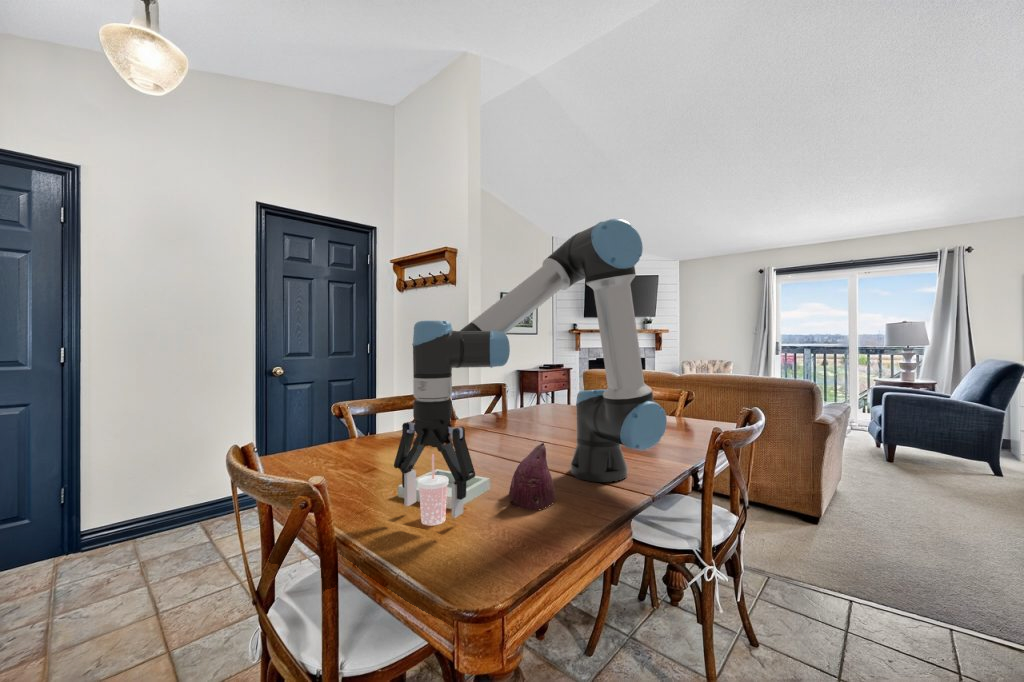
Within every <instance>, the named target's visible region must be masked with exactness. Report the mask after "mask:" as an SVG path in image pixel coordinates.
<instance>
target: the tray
mask: <svg viewBox="0 0 1024 682" xmlns="http://www.w3.org/2000/svg"><path fill="white" fill-rule="evenodd" d="M436 473H443V474H444V475H445V476H446V477H448V479H449V481H448V483H449V484H448V485H447V499H446V509H448V510H449V509H450V510H452V482H454V481H455V479H454V477H453V475H452V473H451V471H450V470H444V469H440V468H439V469H438V468H436V469H434V475H435V474H436ZM429 475H432V470H431V471H429V472H426V473H424V474H422V475H420V476H416V503H417V502H418V503H420V493H419V487H418V479H419V478H422V477H424V476H429ZM490 489H491V479H490V478H489V477H484V476H480V475H479V476H478V475H475V477H474V478H472V479H470V480H468V481H466V497H465V498H463V506H464V505H466V504H468V503H469V502H471V501H473V500H474V499H476V498H477V497H479V496H481V495H483V494H484V493H485V492H487V491H490ZM397 497H398V498H400V499H404V488H403V486H402V483H401V484H399V485H398V486H397Z"/></svg>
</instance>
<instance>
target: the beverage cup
mask: <svg viewBox="0 0 1024 682" xmlns="http://www.w3.org/2000/svg"><path fill="white" fill-rule="evenodd" d="M434 470H435V454H434V453H432V454H431V471H432V475H429V476H424V477H422V478H419V479H418V487H419V493H420V502H419V504H420V505H419V506H420V507H419V508H420V521H421V524H422V525H425V526H438V525H441V524H443V523H444V522H445V521H446V517H447V516H446V515H447V508H446V499H447V485H448V484H449V483H448V481H449V479H448V477H446V476H443V475H434Z"/></svg>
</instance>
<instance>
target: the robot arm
mask: <svg viewBox="0 0 1024 682" xmlns="http://www.w3.org/2000/svg"><path fill="white" fill-rule="evenodd" d="M643 250H644V249H643V242H642V237H641V235H640V234H639V232H638V230H637V229H636V228H635V227H634V226H632V224H630V222H629V221H626V220H624V219H620V218H612V219H611V218H610V219H607V220H604V221H599V222H598V223H596V224H595V225H593V226H591V227H589V228H587V229H584V230H582V231H580V232H577V233H575V234H573V235H571V237H569V238H568V239H567V240H565V242H564V243H563V244H561V245H559V247H558V248H556V250H554V251H553V252H552V253H551V254H550V255H548V257H546V258H544V259H543V261H542V266H541V267H540V268H539V269H536V271H535V272H533V273H532V274H531V275H530V276H528V277H527V278H526V279H524V280H523V281H522V282H520V283H519V284H518V285H516V286H515V287H514V288H513V289H511V290H510V291H509V292H507V293H506V294H505V295H503V296H502V297H501V298H500V299H499V300H497V301H496V302H495V303H494V304H492V305H491V306H490V307H488V308H487V309H486V310H484V311H483V312H482V313H481V314H479V315H478V316H477V317H475V318H474V319H473V320H472V321H470V322H469V323H468V324H466V325H465V326H464V327H462V329H460V330H453V328H452V323H451V322H450V321H448V320H420V321H417V322H416V323H414V326H413V339H412V363H413V364H412V365H413V366H412V369H413V377H412V378H413V379H412V382H413V383H412V385H413V389H412V390H413V393H412V394H413V398H414V399H415V400H414V401H413V402H412V403H413V404H412V405H413V406H412V407H413V408H412V409H413V410H412V411H413V415H412V417H413V419H414V420H415V421H414V420H411V421H407V422H403V423H402V426H401V427H402V434H401V439H400V441H399V445H398V449H397V453H396V456H395V459H394V463H393V467H394V469H399V470H400V472H401V480H402V481H401V482H402V483H401V484H402V486H403V488H404V498H403V499H404V506H403V507H409V506H411V505H413V504H416V503H417V501H416V478H417V470H416V467H415V466H416V463H417V462H418V460H419V458H420V456H421V454H422V453H423V452H424V449H425V447H429V446H430V447H432V448H436V449H437V451H438V452H439V453H441V455H442V458H443V459H444V461H445V463H446V465H447V467H448V469H449V471H451V473H452V475H453V477H454V479H455V481H454V482H452V509H451V518H454V519H456V518H458V517H459V516H461V515H462V514H463V513H464V505H463V498H465V497H466V481H468V480H470V479H472V478H474V477H475V476H476V471H475V468H474V464H473V461H472V457H471V454H470V452H469V451H470V450H469V448H468V444H467V442H466V428H465V427H464V426H460V427H454V426H453V425H452V424H451V419H452V416H453V400H452V399H451V398H450V397H452V396H453V382H452V381H453V379H452V375H453V374H452V373H453V372H452V371H453V369H459V368H490V369H492V368H495V367H503V366H505V365H506V364H507V363H508V360H509V357H510V354H511V353H510V352H511V351H510V348H511V347H510V346H511V345H510V341H509V338H508V336H507V333H509V332H510V331H511V330H512V329H514V328H515V327H516V326H517V325H519V323H521V322H522V321H524V320H525V319H526V318H527V317H528V316H530V315H531V314H532V313H533V312H535V310H537V309H538V308H539V307H541V306H542V305H543V304H545V303H546V302H547V301H548V300H549V299H551V297H553V296H554V295H556V294H557V293H558V292H559V291H561V290H562V291H566V290H568V289H569V288H570V287H572V286H573V285H575V284H576V283H578V282H580V281H582V280H585V284H586V286H589V287H590V288H591V289H592V290H593V295H594V301H595V303H594V304H595V307H596V308H595V309H596V315H597V322H598V328H599V336H600V343H601V349H602V357H603V363H604V371H605V376H606V377H605V378H606V383H607V384H606V385H607V387H606V389H591V390H590V389H589V390H588V389H587V390H580V391H578V393H577V394H576V403H575V406H576V447H575V450H574V453H573V456H572V460H571V462H570V474H571V475H572V476H573V477H575V478H577V479H580V480H583V481H587V482H594V483H595V482H596V483H612V481H615V482H619V481H618V480H620V481H623V480H624V478H625V479H626V478H627V477H628V465H627V463H626V460H625V459H626V458H625V456H624V453H623V450H622V447H621V446H624V447H626V448H628V449H632V450H638V451H646V450H647V451H648V450H650V449H652V448H654V447H655V446H657V445H658V444H659V442H660V441H661V438H662V437H663V436H664V435H665V432H666V429H667V424H668V422H667V420H668V419H667V414H666V411H665V408H663V407H662V406H661V405H660V404H659V403H658V402H656V401H655V400H654V394H653V390H652V388H651V387H650V386H649V385H647V384H646V383H645V380H644V372H643V365H642V358H641V351H640V342H639V335H638V330H637V322H636V315H635V309H634V308H635V307H634V301H633V294H632V287H631V284H632V281H634V279H635V277H636V276H637V274H636V268H635V266H636V265H637V263H638V262H640V259H641V257H642V255H643ZM415 433H416V437H415ZM414 438H415V439H414ZM622 479H623V480H622Z"/></svg>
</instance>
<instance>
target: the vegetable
mask: <svg viewBox="0 0 1024 682" xmlns="http://www.w3.org/2000/svg"><path fill="white" fill-rule="evenodd" d="M547 462H548V461H547V449H546V445H545V442H542V443H540V444H538V445H536V446H535V447H534V448H533V449H532V450H531V452H529V454H527V455H526V456H525V457H524V458H523V459H522V460H521V462H520V463H519V464H518V465H517V467H516V469H515V470H514V473H513V476H512V478H511V482H510V486H509V492H508V498H509V499H510V501H509V503H510V504H511V505H512V506H513V507H515V508H517V507H518V509H521V508H522V509H521V510H525V509H526V511H534V510H535V511H540V510H539V509H542V510H544V509H543V508H545V507H548V506H549V505H551V504H552V503H553V502H554V501H555V490H554V489H555V488H554V482H553V479H552V475H551V472H550V469H549V466H548V463H547ZM554 503H555V502H554ZM554 503H553V504H554ZM551 506H552V505H551ZM549 507H550V506H549ZM549 507H548V508H549ZM545 509H546V508H545Z"/></svg>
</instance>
